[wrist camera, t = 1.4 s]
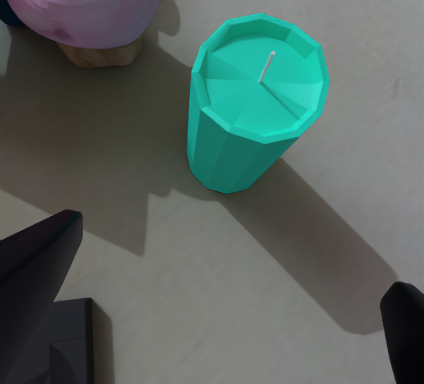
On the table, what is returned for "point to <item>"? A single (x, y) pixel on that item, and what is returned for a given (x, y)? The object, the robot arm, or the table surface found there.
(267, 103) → the candle
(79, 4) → the cupcake
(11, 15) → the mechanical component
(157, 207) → the table surface
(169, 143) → the table surface
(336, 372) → the table surface
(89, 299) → the candle pad
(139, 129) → the table surface
